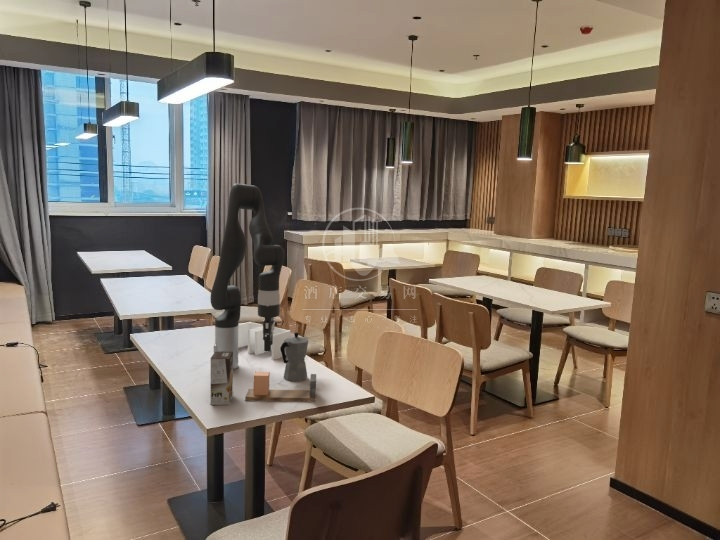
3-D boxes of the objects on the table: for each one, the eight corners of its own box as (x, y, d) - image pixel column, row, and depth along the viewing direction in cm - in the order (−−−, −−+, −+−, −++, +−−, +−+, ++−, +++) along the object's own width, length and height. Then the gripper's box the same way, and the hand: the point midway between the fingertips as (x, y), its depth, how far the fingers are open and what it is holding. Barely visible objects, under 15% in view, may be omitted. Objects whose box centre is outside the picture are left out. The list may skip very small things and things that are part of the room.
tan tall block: (253, 395, 200) (253, 375, 199) (255, 390, 204) (255, 371, 203) (267, 395, 200) (268, 375, 199) (269, 390, 205) (269, 371, 204)
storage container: (290, 354, 255) (290, 330, 254) (273, 360, 246) (273, 335, 245) (249, 344, 269) (249, 321, 267) (231, 349, 260) (232, 326, 258)
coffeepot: (296, 371, 232) (297, 327, 229) (315, 376, 227) (316, 331, 224) (271, 381, 219) (271, 335, 216) (290, 386, 214) (291, 339, 211)
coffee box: (229, 405, 194) (229, 358, 191) (210, 405, 193) (209, 358, 191) (233, 395, 203) (233, 351, 200) (214, 395, 202) (214, 350, 200)
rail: (245, 400, 198) (245, 380, 197) (248, 392, 206) (248, 372, 205) (315, 401, 200) (315, 381, 199) (315, 393, 207) (316, 374, 206)
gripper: (259, 298, 207) (259, 342, 209) (255, 306, 193) (255, 353, 195) (280, 298, 207) (280, 342, 209) (278, 306, 193) (277, 353, 195)
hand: (268, 347), depth 202 cm, fingers open, 8 cm apart
